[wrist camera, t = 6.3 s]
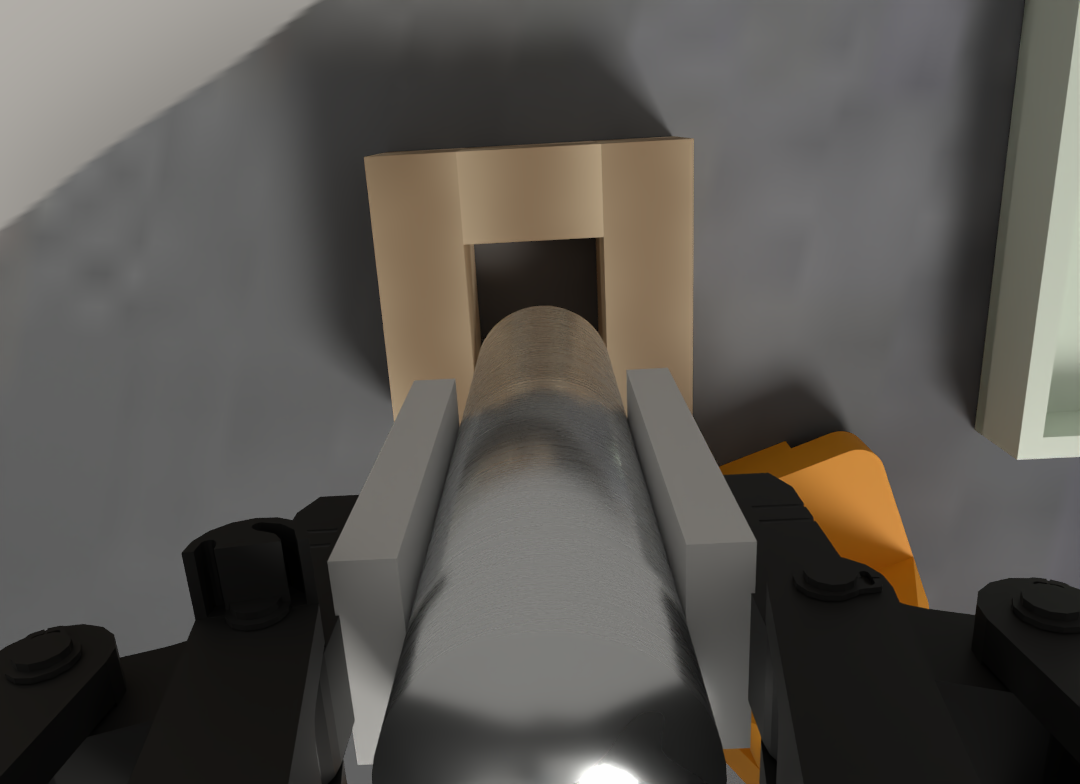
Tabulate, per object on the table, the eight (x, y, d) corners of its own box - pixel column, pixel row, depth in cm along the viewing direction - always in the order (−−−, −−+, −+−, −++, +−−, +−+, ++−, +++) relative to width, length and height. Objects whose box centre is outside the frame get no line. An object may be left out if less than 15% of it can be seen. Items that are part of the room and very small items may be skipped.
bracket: (848, 415, 32) (1019, 577, 21) (898, 567, 34) (1079, 790, 23) (591, 515, 33) (620, 719, 22) (655, 655, 36) (712, 908, 24)
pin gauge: (481, 436, 20) (392, 926, 8) (471, 309, 19) (350, 644, 7) (612, 430, 20) (724, 913, 8) (608, 301, 19) (729, 627, 7)
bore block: (415, 420, 32) (398, 461, 28) (386, 152, 29) (363, 156, 25) (673, 407, 32) (692, 446, 28) (672, 136, 29) (693, 138, 25)
